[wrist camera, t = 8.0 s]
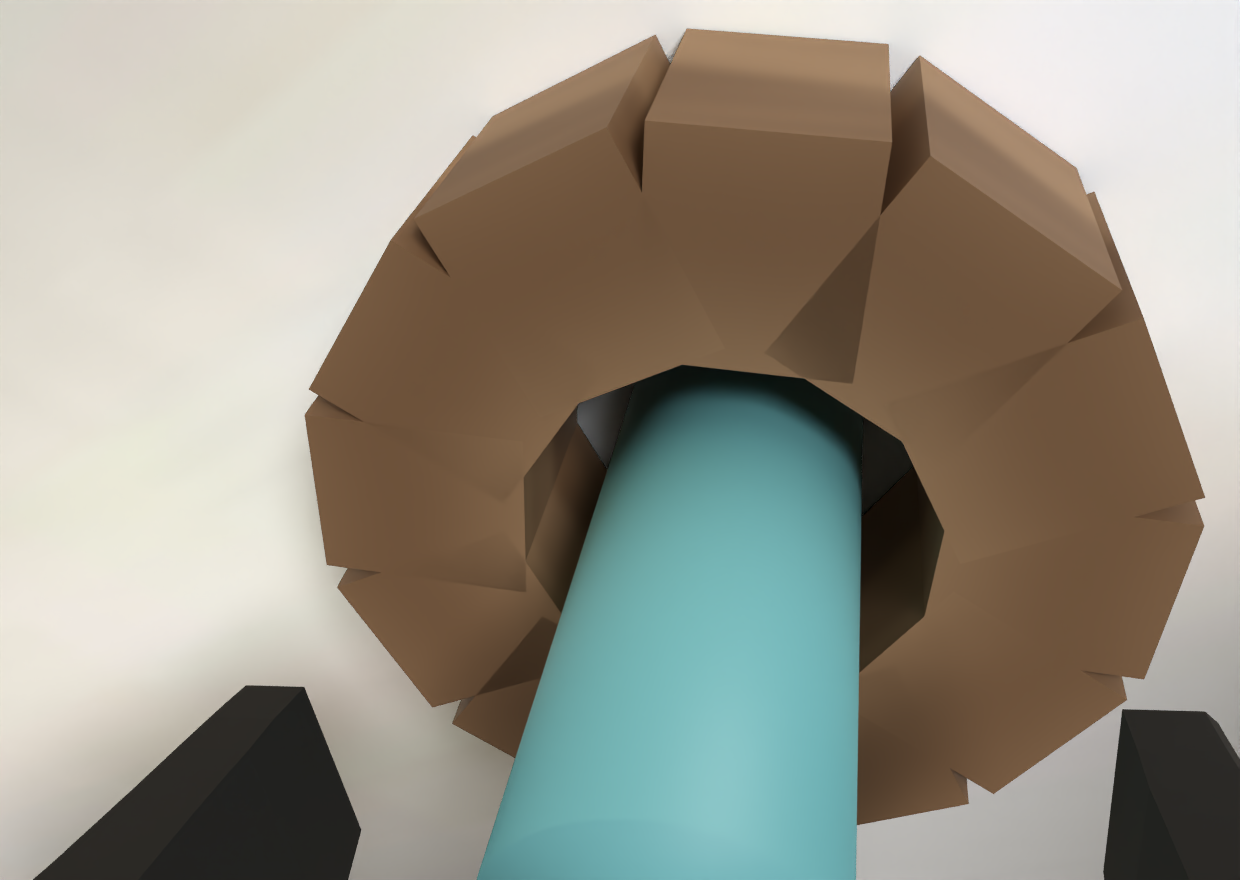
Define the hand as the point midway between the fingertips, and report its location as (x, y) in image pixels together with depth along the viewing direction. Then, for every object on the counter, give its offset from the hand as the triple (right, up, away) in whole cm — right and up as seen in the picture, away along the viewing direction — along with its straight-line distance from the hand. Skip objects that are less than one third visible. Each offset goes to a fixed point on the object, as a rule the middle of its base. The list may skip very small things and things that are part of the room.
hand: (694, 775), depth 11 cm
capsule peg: (+1, +4, +5) cm, 6 cm away
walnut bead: (+1, +4, +5) cm, 6 cm away
